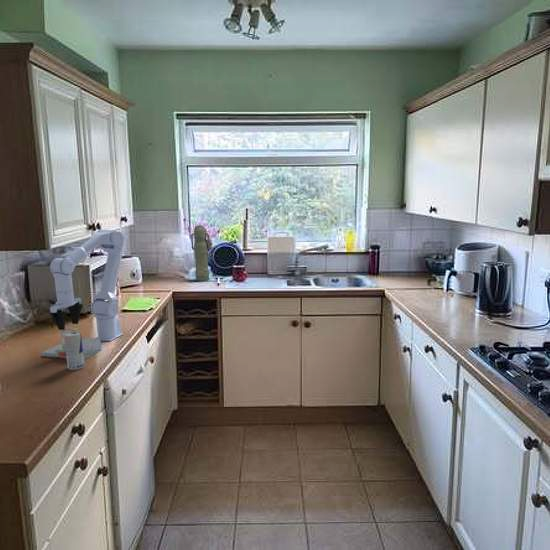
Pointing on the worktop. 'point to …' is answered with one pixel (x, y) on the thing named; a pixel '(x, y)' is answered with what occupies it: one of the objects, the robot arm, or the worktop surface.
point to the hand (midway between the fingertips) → (68, 326)
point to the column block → (65, 333)
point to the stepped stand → (88, 345)
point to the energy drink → (74, 350)
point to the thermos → (201, 253)
